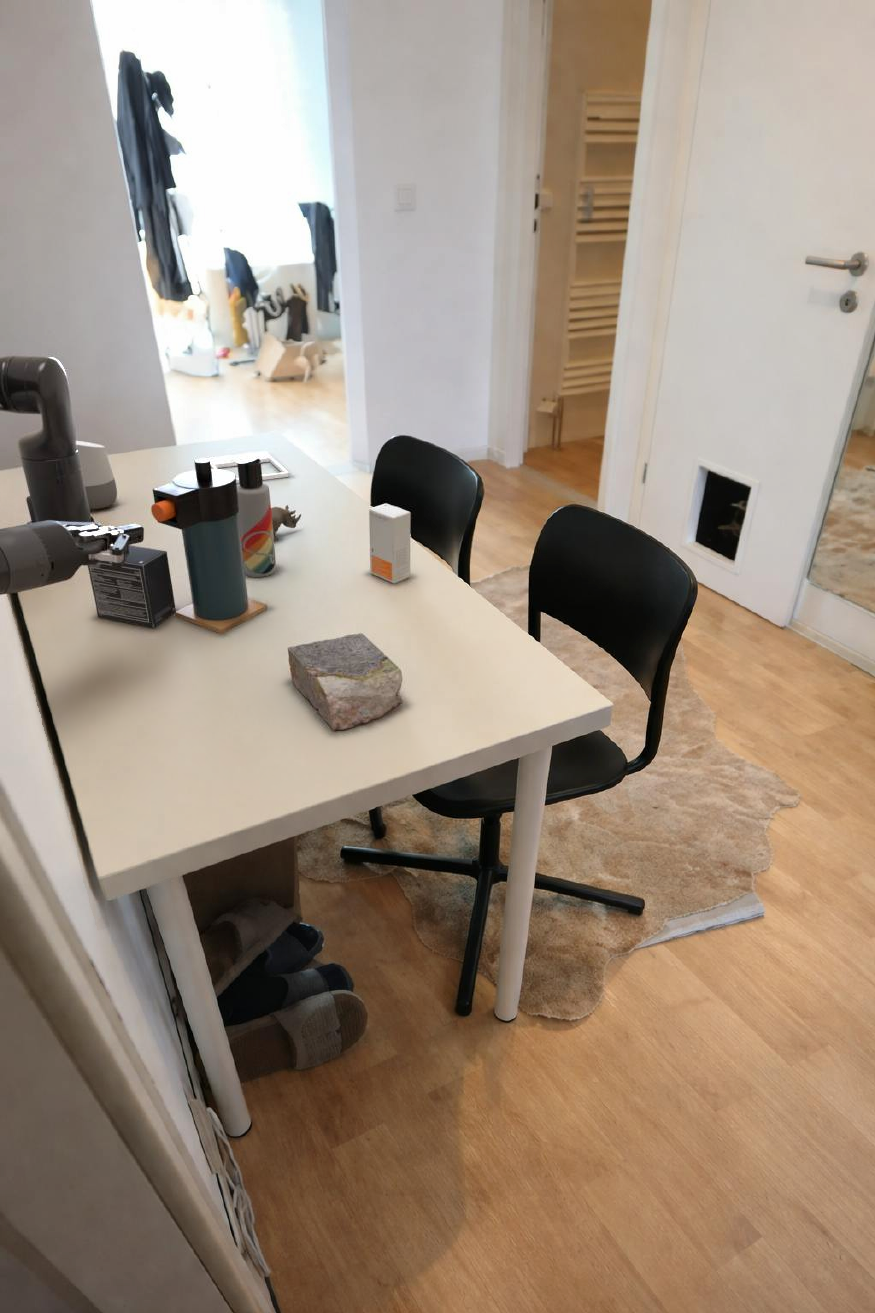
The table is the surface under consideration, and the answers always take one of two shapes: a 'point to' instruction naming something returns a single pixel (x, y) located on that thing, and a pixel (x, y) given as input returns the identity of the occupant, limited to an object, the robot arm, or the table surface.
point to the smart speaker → (97, 475)
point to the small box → (134, 588)
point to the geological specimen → (346, 679)
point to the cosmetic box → (389, 542)
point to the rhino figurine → (283, 519)
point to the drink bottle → (209, 538)
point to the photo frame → (233, 459)
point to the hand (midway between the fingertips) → (140, 532)
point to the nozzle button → (163, 510)
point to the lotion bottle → (255, 519)
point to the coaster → (221, 625)
